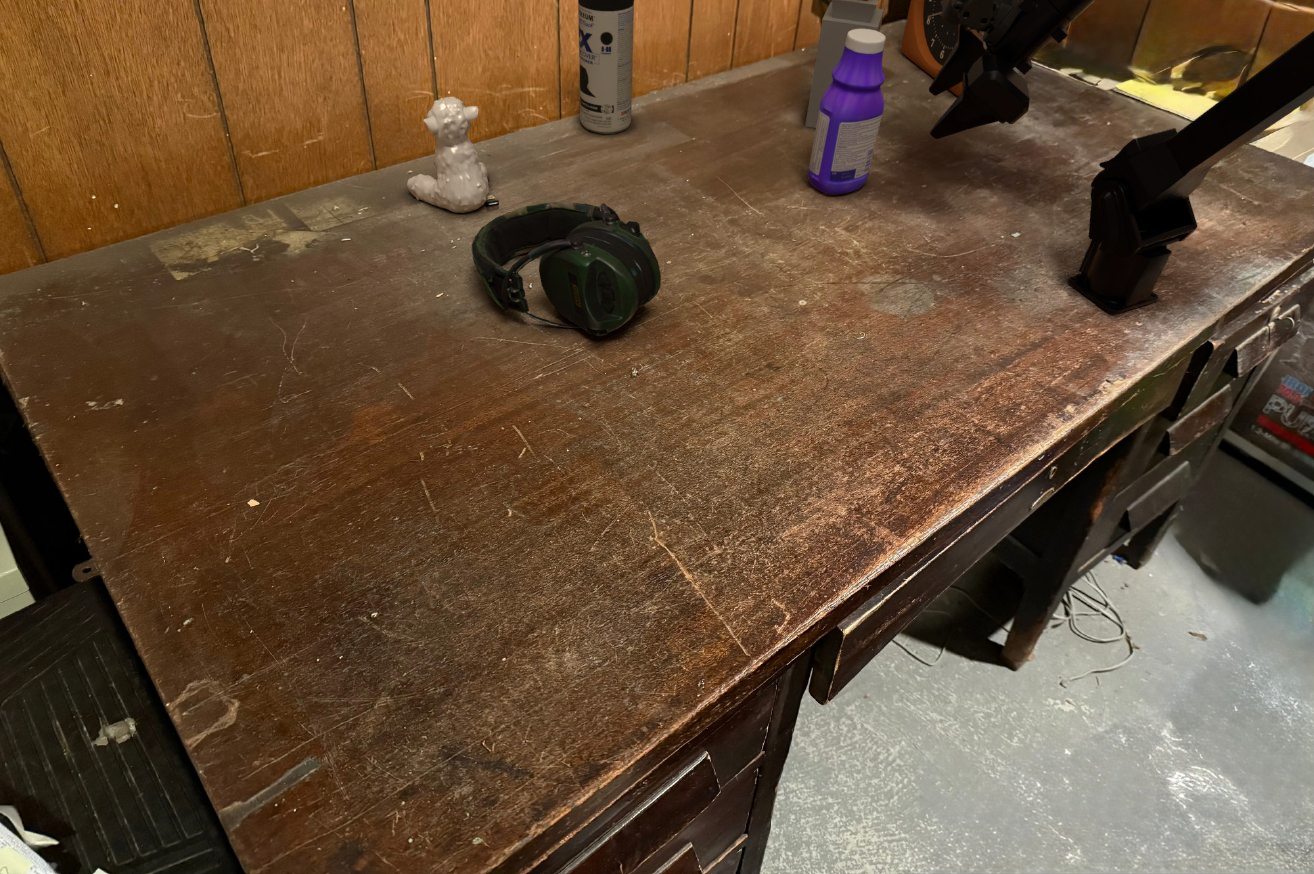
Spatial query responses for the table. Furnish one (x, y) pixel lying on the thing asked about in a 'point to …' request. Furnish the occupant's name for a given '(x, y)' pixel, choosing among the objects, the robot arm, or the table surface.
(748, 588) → the table surface
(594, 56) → the spray can
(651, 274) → the headphones
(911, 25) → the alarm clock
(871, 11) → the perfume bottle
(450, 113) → the sitting furry creature
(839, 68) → the bottle
